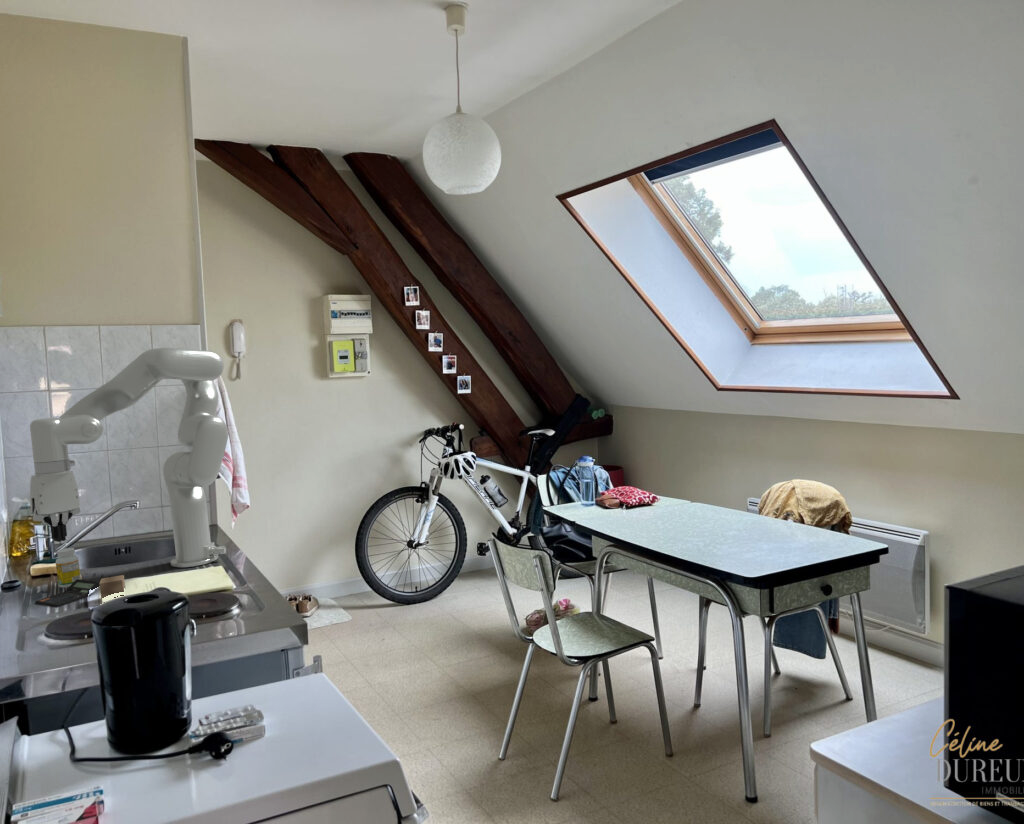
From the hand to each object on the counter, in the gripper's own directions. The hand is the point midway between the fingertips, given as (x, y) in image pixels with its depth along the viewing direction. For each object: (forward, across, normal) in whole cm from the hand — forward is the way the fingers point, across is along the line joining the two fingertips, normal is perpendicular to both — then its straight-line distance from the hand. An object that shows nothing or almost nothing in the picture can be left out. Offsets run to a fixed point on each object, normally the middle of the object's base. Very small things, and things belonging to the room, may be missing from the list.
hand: (59, 540), depth 198 cm
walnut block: (+15, -6, +12) cm, 20 cm away
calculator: (+15, -1, 0) cm, 15 cm away
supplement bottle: (+15, -6, -12) cm, 20 cm away
